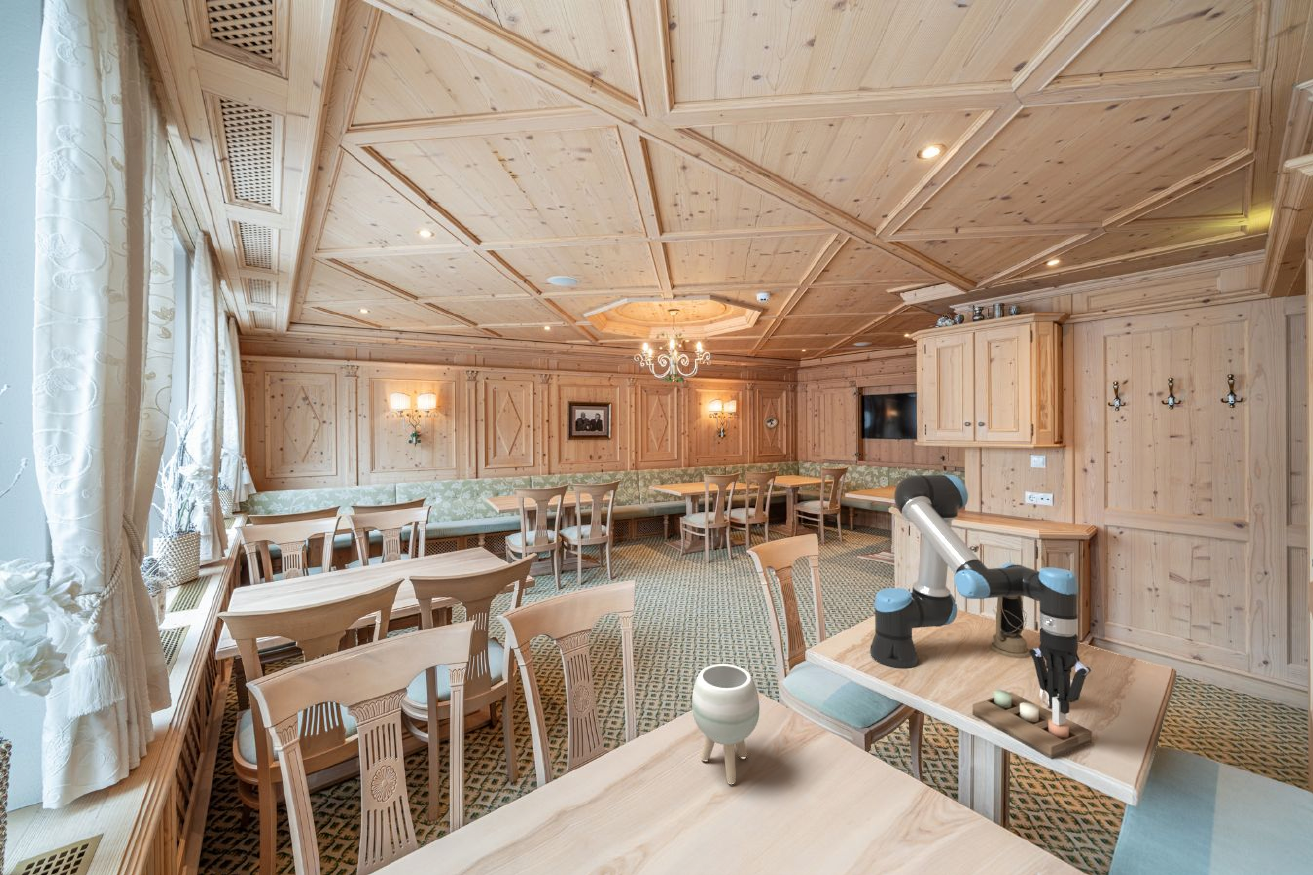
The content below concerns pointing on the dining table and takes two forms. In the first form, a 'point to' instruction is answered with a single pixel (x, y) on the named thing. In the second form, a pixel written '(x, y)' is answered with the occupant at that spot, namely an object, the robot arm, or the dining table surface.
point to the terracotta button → (1058, 730)
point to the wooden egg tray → (1031, 727)
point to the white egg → (1029, 712)
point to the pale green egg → (1002, 698)
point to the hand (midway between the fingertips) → (1059, 722)
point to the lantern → (1010, 628)
